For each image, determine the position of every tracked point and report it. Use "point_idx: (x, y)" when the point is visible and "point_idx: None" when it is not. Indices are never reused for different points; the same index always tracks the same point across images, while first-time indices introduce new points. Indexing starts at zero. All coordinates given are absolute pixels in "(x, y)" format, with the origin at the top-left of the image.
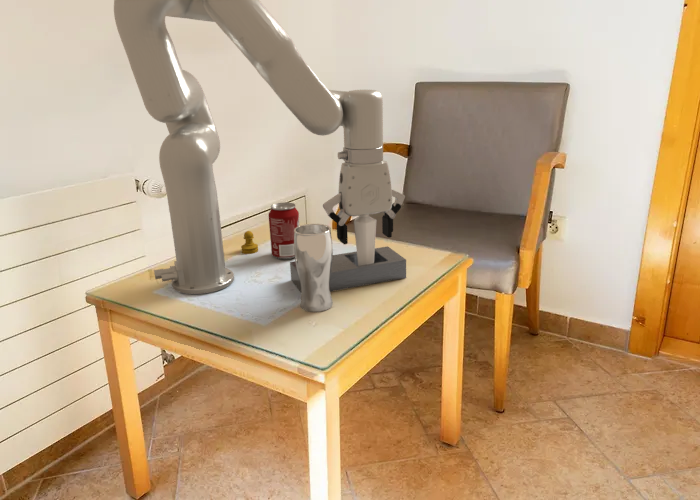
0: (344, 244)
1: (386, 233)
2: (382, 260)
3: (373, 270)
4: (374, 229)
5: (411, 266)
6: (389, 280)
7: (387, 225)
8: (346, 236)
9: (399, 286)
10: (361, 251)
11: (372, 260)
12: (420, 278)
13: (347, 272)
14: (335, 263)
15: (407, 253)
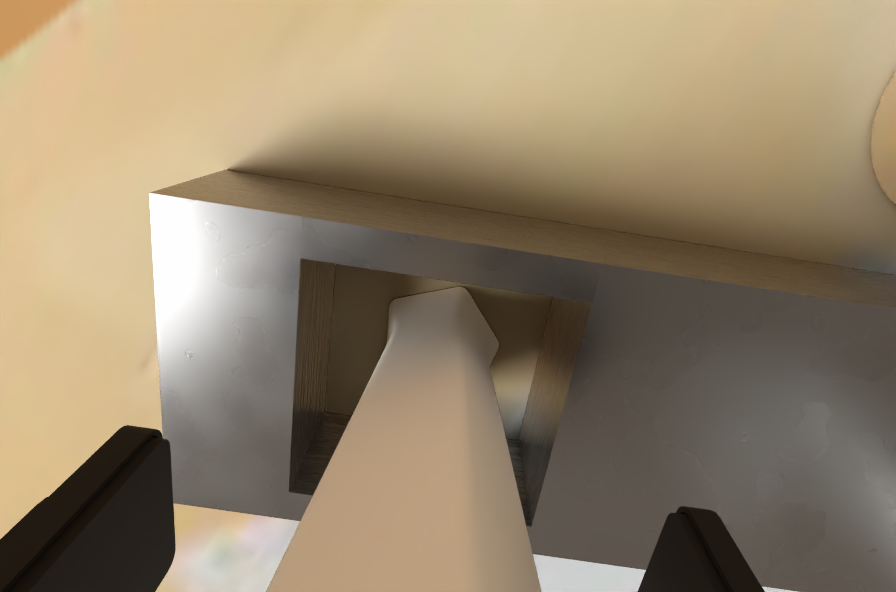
0: (705, 510)
1: (152, 498)
2: (306, 352)
3: (465, 231)
4: (307, 562)
5: (109, 312)
6: (349, 190)
7: (70, 569)
8: (731, 581)
9: (337, 66)
10: (490, 424)
11: (398, 354)
12: (137, 105)
13: (690, 272)
14: (684, 435)
15: (52, 481)
